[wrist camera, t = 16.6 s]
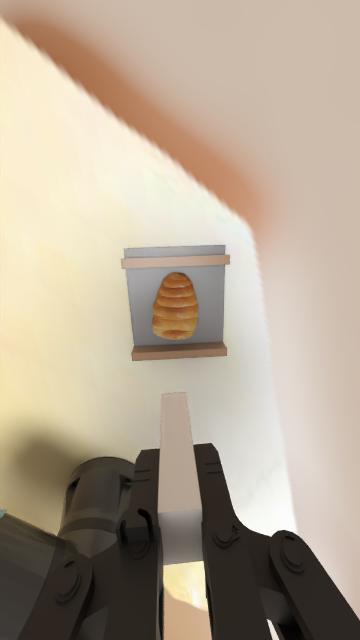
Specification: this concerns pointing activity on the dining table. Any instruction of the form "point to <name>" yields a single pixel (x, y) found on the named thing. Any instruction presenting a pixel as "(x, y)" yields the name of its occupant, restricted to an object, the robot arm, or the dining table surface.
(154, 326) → the pastry
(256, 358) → the dining table surface
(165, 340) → the pastry holder
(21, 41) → the dining table surface
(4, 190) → the dining table surface
